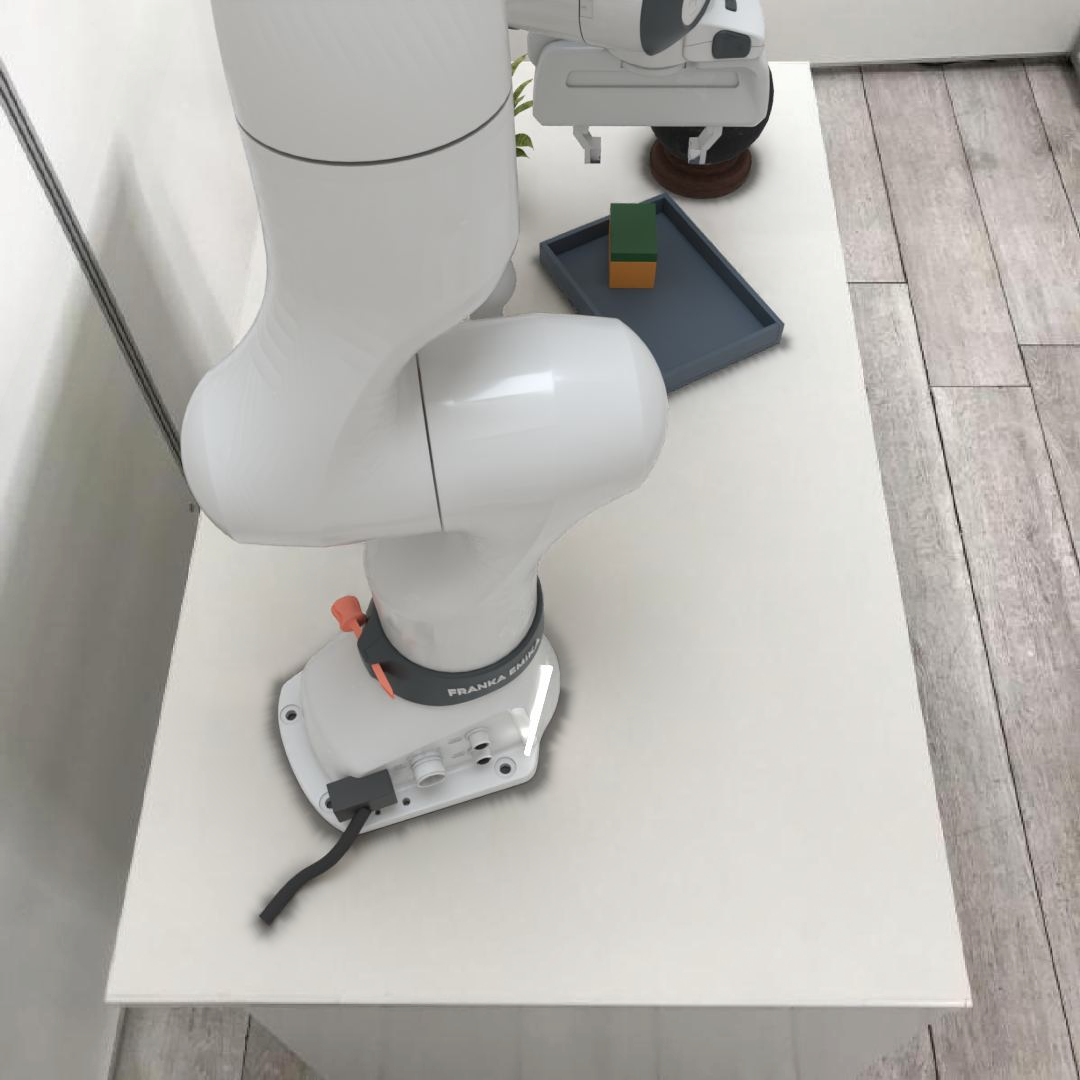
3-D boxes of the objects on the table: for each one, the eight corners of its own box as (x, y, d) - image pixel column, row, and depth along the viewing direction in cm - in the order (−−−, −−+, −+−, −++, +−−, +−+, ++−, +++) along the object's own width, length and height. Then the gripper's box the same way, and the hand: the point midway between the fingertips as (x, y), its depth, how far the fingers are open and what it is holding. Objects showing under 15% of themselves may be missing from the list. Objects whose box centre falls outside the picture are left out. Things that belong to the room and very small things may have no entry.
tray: (647, 402, 100) (649, 384, 98) (539, 261, 110) (539, 242, 108) (780, 342, 104) (784, 323, 102) (664, 211, 114) (666, 191, 112)
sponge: (653, 288, 107) (657, 253, 103) (609, 288, 107) (611, 252, 103) (651, 239, 111) (655, 203, 107) (608, 239, 111) (610, 202, 107)
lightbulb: (517, 361, 103) (514, 278, 94) (454, 361, 103) (445, 278, 94) (519, 314, 106) (516, 230, 97) (458, 314, 107) (449, 229, 97)
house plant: (568, 170, 117) (569, 33, 103) (551, 259, 110) (550, 125, 96) (440, 159, 119) (425, 22, 105) (416, 247, 111) (395, 113, 97)
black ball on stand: (633, 127, 121) (643, 2, 108) (749, 122, 121) (772, -4, 108) (646, 208, 114) (658, 84, 101) (769, 201, 114) (796, 77, 101)
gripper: (525, 39, 84) (529, 182, 96) (785, 39, 84) (757, 183, 95) (527, -7, 88) (531, 137, 99) (778, -7, 87) (752, 138, 99)
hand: (644, 159), depth 97 cm, fingers open, 8 cm apart
